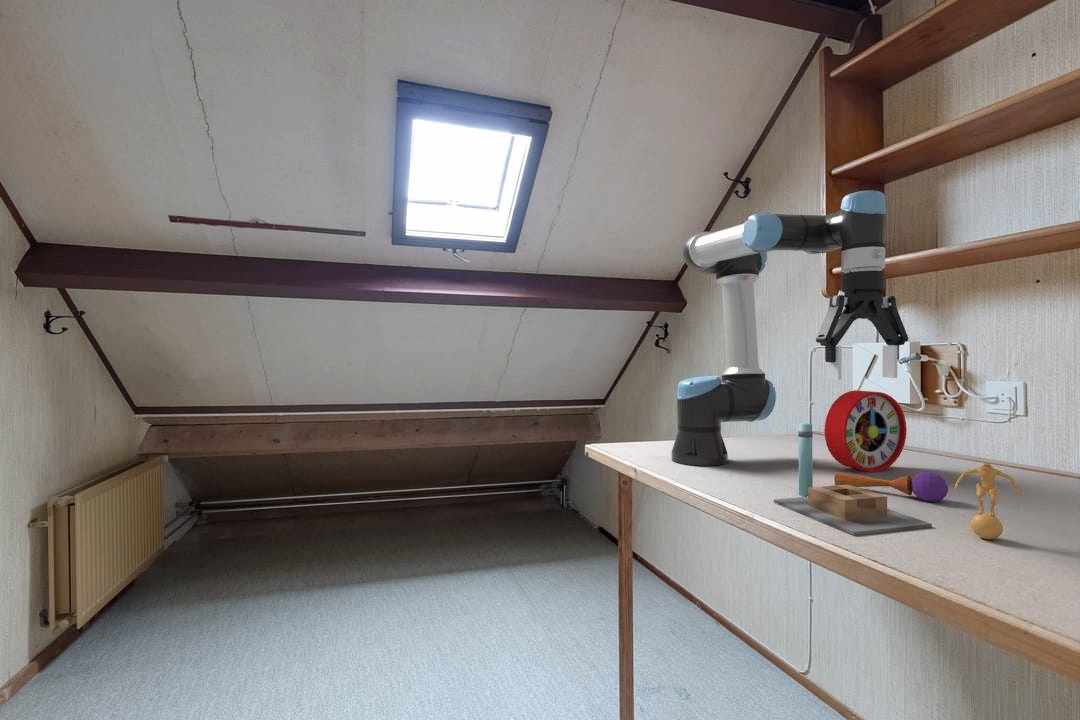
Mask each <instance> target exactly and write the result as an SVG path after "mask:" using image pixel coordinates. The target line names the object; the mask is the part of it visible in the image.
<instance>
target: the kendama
mask: <svg viewBox="0 0 1080 720" xmlns="http://www.w3.org/2000/svg"><path fill="white" fill-rule="evenodd" d="M833 477H834V485H847V484H848V485H851V486H854V487H858V488H863V487H864V488H866V487H867V488H869V487H870V488H871V487H872V488H873V487H879V488H881V487H890V488H893V489H895V490H897V491H899V492H902V493H903V494H905V495H907V496H909V497H911V496H912V495H913V494H914V495H915V496H916V497H917V499H919V500H921V501H924V502H928V503H937V502H940V501H942V500H943V499H945V498H946V497H947V494H948V493H949V485H948V483H947V482H946V480H945V478H943V477H942V476H941V475H940V474H937V473H935V472H933V471H922V472H919V473H917V474H916V475H915V476H913V477H912V476H911V475H910V474H907V475H905V476H902V477H899V478H895V479H893V480H885V479H879V478H875V477H874V478H873V477H867V476H862V475H856V474H851V473H845V472H839V471H836V472H835V474H834V476H833Z"/></svg>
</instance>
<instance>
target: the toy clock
mask: <svg viewBox="0 0 1080 720" xmlns="http://www.w3.org/2000/svg"><path fill="white" fill-rule="evenodd" d="M824 421H825V422H824V430H823V431H824V440H825V444H826V447H827V449H828V451H829V453H830V455H831V456H832V458H834V459H835V461H836V462H838V464H839V465H842V466H844V467H847V468H851V469H856V470H861V471H865V472H868V473H869V472H870V473H877V472H883V471H884V470H886V469H888V468H890V467H892V465H893V464H895V463H896V461H897V460H898V458H899V457H900V455H901V454H902V452H903V449H904V447H905V443H906V440H907V430H908V429H907V422H906V416H905V414H904V411H903V408H901V405H900V404H899V403H898V401H897V400H896V399H895V398H894V397H892V396H891V395H889V394H887V393H885V392H882V391H869V390H857V389H855V390H849V391H847V392H845V393H843V394H840V396H839V397H838V398H836V399H835V400H834V402H833V403H831V406H830V407H829V409H828V412H827V414H826V417H825V420H824Z"/></svg>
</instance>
